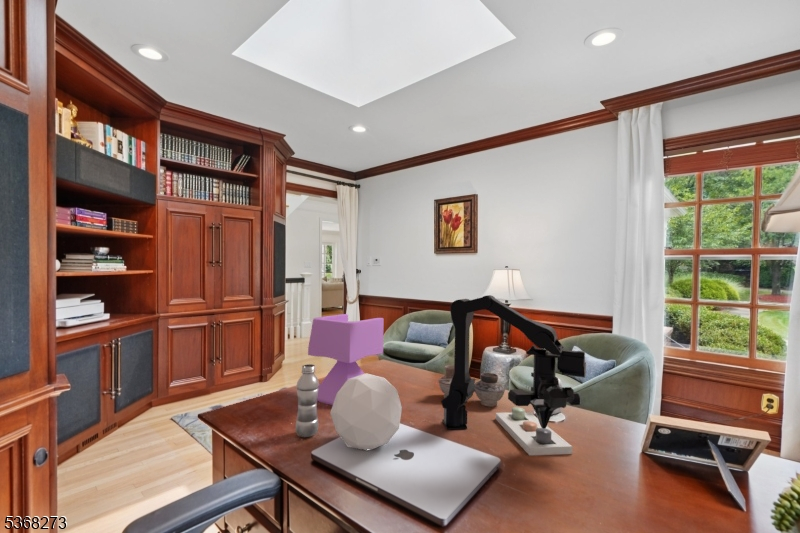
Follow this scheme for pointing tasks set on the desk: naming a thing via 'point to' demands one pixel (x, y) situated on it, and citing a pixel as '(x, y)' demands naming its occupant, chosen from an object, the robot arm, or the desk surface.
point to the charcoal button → (543, 436)
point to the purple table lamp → (343, 348)
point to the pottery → (477, 386)
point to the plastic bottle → (307, 402)
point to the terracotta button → (529, 426)
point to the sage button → (518, 414)
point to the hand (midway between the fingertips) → (543, 427)
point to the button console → (532, 436)
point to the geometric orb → (366, 411)
